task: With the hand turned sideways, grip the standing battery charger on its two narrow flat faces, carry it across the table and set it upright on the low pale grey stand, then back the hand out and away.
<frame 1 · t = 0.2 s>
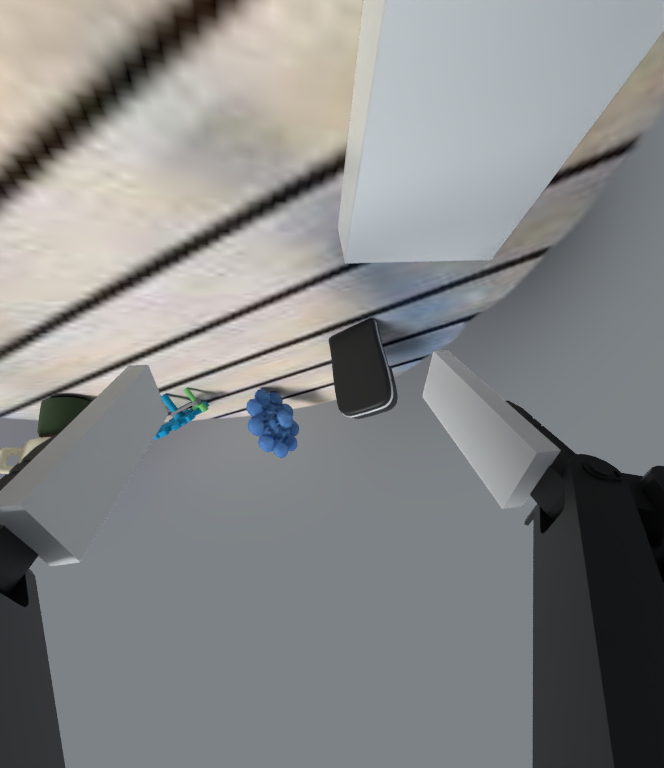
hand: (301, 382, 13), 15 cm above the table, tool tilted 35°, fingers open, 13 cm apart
character mug: (71, 399, 43), on the table
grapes: (276, 389, 50), on the table
battery charger: (355, 331, 36), on the table
blue green lumpy piece: (185, 396, 47), on the table
stand: (448, 116, 16), on the table
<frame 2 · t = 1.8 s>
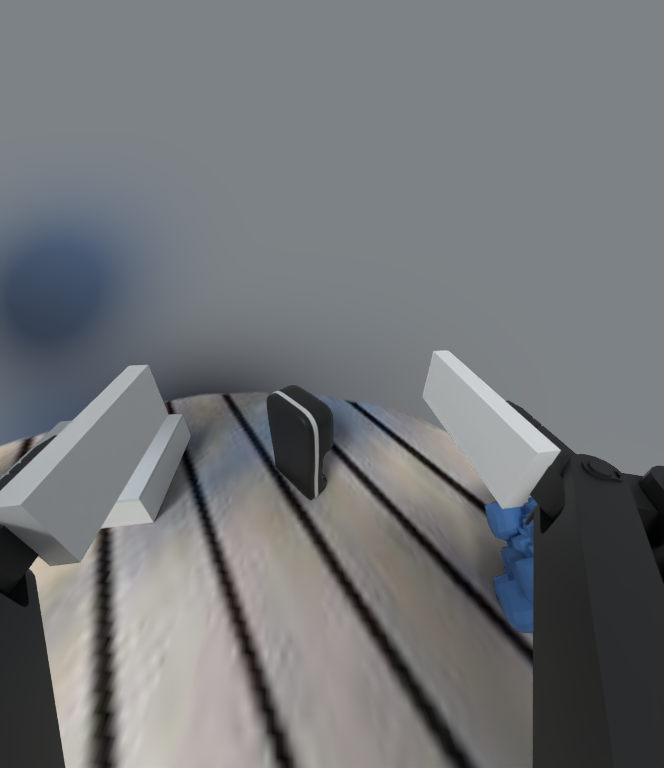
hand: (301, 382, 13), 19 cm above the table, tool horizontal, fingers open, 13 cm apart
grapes: (502, 569, 24), on the table
battery charger: (304, 475, 32), on the table
stand: (110, 478, 30), on the table
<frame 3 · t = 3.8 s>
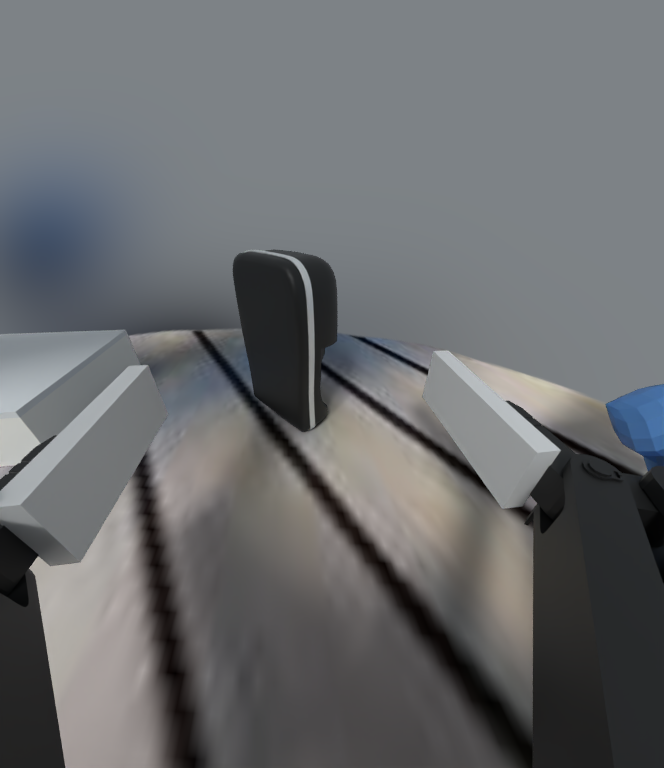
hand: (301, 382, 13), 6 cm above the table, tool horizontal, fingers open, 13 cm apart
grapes: (623, 521, 14), on the table
battery charger: (295, 407, 22), on the table
stand: (10, 410, 21), on the table
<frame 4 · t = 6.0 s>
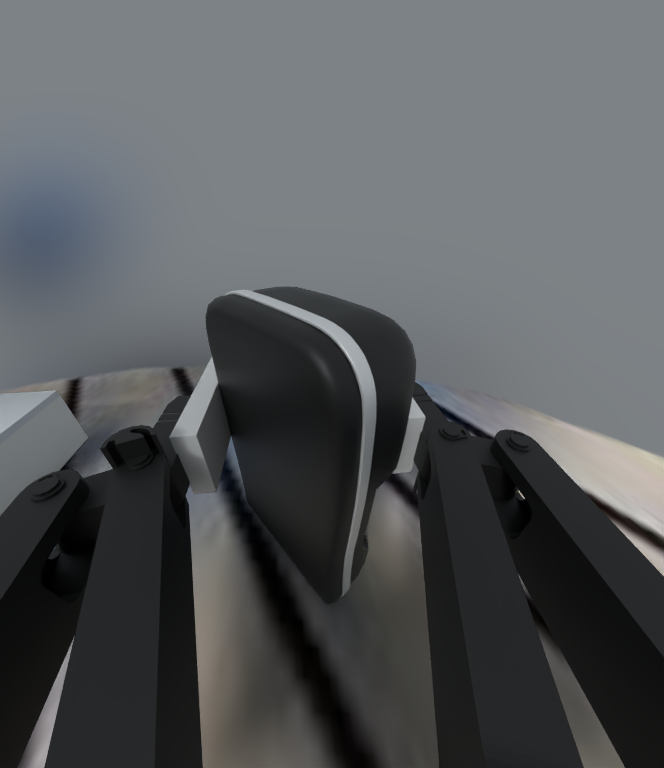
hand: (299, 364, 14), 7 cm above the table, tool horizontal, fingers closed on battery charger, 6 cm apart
battery charger: (312, 525, 14), on the table, touching gripper
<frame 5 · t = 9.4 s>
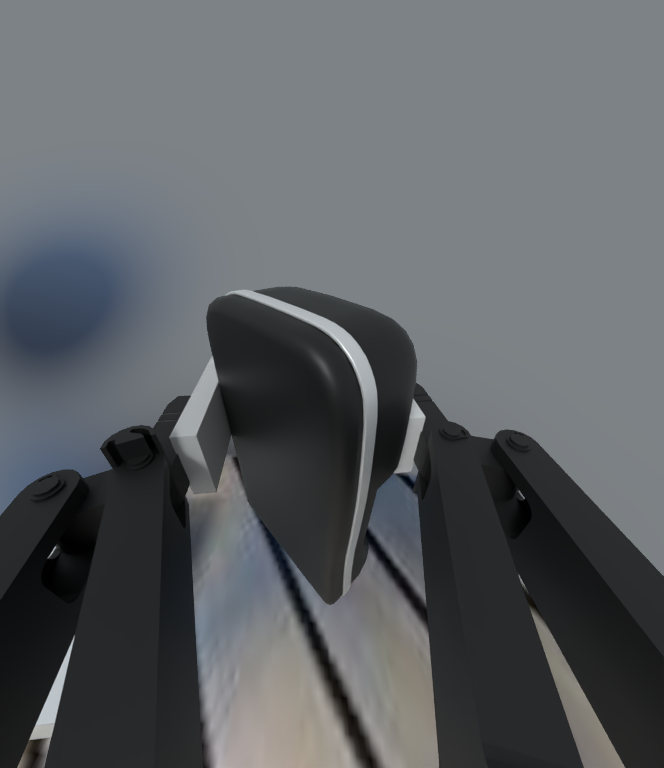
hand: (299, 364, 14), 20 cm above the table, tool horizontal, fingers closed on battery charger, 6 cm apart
battery charger: (312, 525, 14), point 13 cm above the table, touching gripper
stand: (66, 616, 21), on the table
when the fingers open (12 cm above the table, at t = 12.7 s): battery charger drops 1 cm, resting on stand.
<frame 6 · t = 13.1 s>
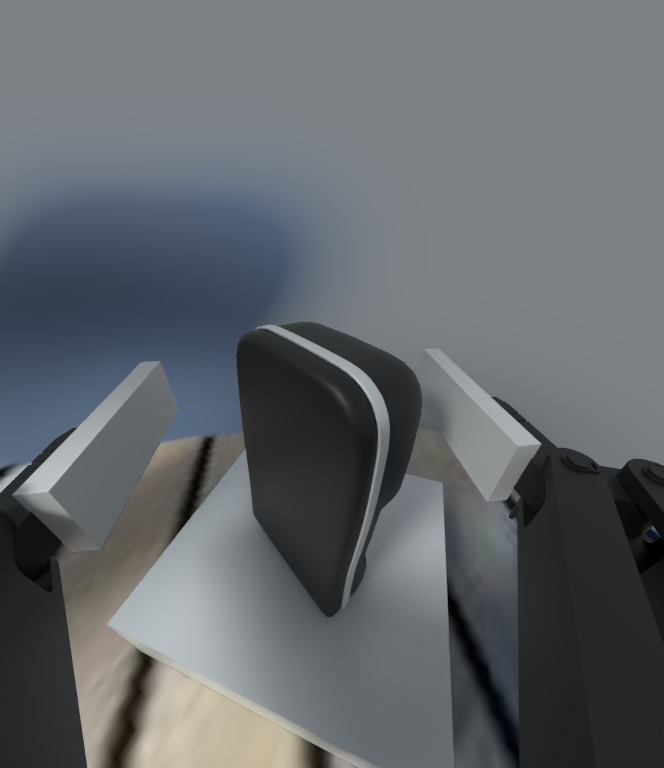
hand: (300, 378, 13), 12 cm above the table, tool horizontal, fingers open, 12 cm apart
battery charger: (313, 540, 15), point 4 cm above the table, touching stand
stand: (312, 571, 17), on the table
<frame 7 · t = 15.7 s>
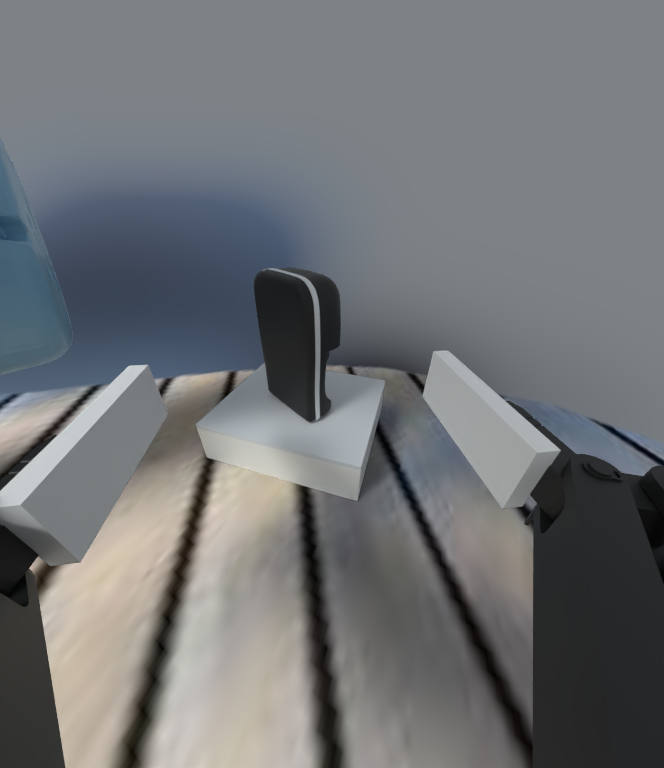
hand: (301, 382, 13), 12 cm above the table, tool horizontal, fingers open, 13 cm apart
battery charger: (303, 401, 25), point 4 cm above the table, touching stand
stand: (303, 431, 27), on the table
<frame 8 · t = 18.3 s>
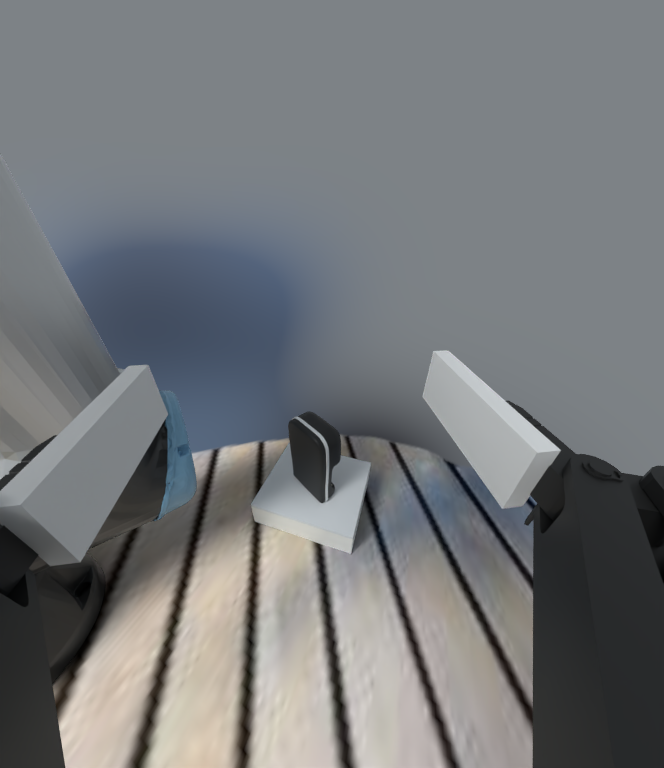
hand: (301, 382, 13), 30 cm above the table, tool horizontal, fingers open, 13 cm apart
battery charger: (316, 483, 39), point 4 cm above the table, touching stand
stand: (316, 498, 41), on the table
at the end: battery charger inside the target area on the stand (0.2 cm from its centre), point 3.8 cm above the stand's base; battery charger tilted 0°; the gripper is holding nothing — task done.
